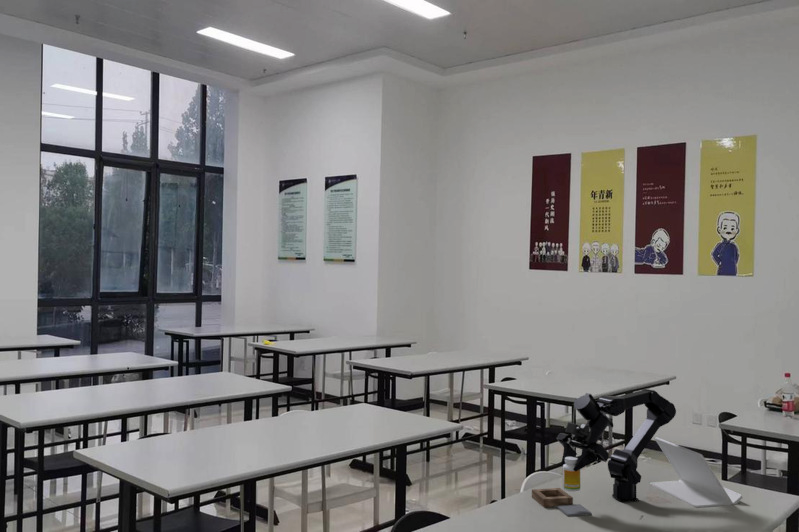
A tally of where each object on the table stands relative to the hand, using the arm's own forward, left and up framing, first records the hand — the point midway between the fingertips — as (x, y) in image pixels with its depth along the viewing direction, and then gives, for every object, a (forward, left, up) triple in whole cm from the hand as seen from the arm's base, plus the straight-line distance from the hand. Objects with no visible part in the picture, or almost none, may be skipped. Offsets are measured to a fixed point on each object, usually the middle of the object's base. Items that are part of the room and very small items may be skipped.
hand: (568, 468), depth 210 cm
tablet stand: (-50, -9, -14) cm, 52 cm away
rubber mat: (-2, +1, -13) cm, 13 cm away
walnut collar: (+1, -10, -13) cm, 16 cm away
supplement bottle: (-1, 0, -7) cm, 7 cm away
